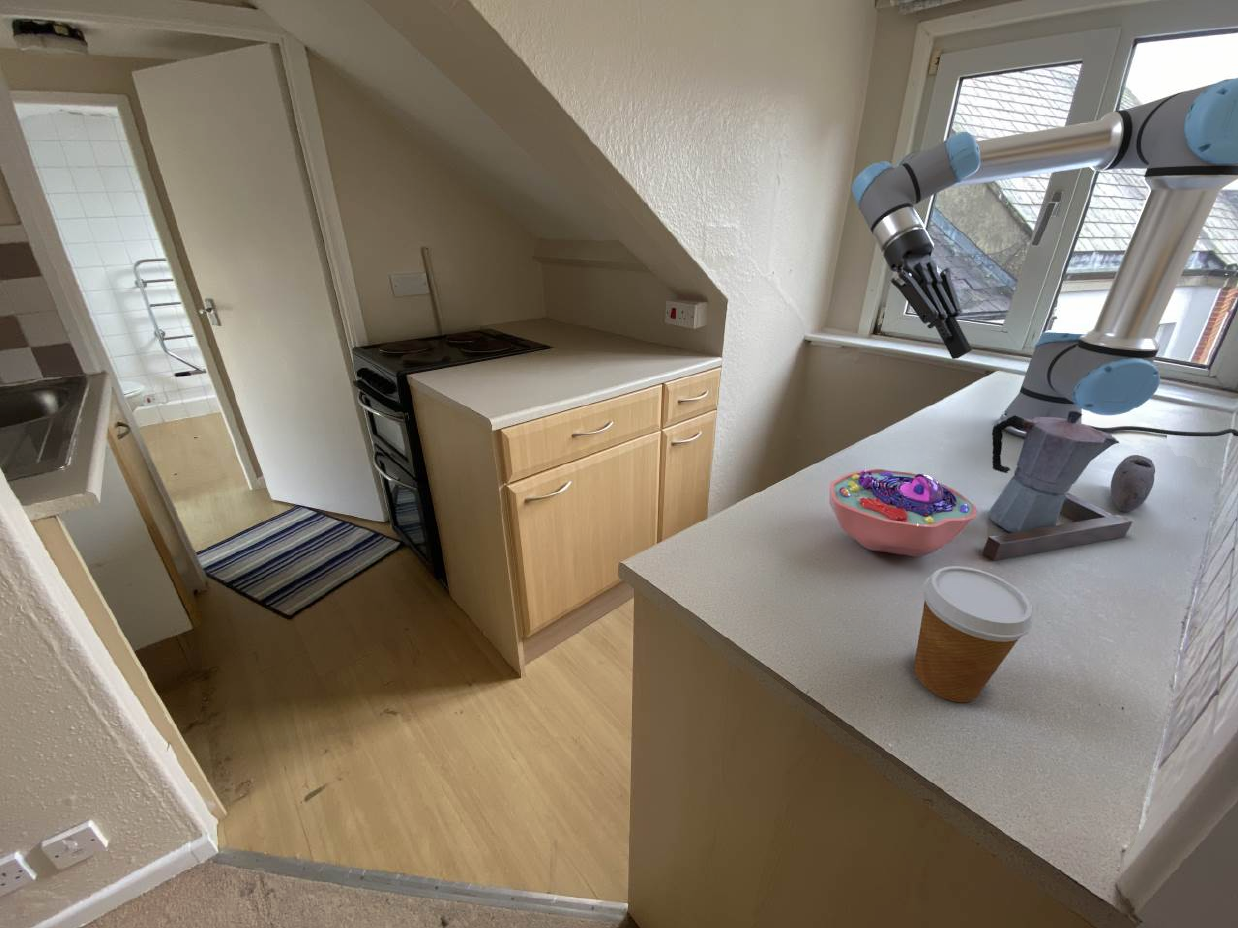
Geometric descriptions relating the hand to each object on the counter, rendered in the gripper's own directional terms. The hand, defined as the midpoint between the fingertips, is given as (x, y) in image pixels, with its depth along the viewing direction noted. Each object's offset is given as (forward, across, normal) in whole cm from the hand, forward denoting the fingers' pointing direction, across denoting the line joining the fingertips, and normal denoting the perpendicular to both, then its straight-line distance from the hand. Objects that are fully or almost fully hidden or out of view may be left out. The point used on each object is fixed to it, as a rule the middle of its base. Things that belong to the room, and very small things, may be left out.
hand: (962, 354), depth 90 cm
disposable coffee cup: (+41, +40, +7) cm, 58 cm away
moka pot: (+30, +1, -5) cm, 30 cm away
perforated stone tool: (+32, -25, -2) cm, 40 cm away
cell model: (+26, +24, -8) cm, 36 cm away
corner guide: (+28, 0, -5) cm, 29 cm away
